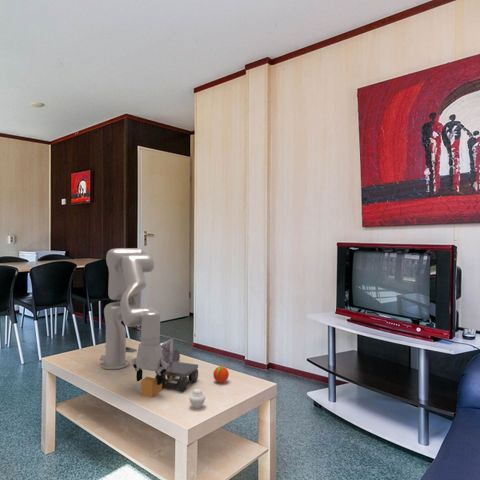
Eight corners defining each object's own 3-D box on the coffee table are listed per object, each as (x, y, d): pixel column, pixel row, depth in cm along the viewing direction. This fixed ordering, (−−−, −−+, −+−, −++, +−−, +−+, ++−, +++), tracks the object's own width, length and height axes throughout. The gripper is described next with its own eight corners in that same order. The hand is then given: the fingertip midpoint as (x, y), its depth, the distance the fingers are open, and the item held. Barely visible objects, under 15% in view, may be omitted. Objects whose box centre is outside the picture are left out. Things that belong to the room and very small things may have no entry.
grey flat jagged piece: (138, 351, 217) (138, 348, 217) (128, 354, 212) (128, 350, 212) (114, 345, 229) (114, 342, 229) (105, 348, 223) (105, 345, 223)
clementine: (224, 386, 167) (225, 370, 167) (210, 384, 169) (210, 368, 169) (230, 380, 175) (230, 364, 175) (216, 378, 177) (216, 363, 177)
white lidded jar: (200, 411, 143) (200, 392, 143) (186, 408, 145) (186, 390, 145) (207, 405, 149) (208, 387, 149) (193, 402, 151) (194, 384, 151)
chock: (141, 396, 157) (141, 380, 156) (151, 388, 164) (152, 373, 164) (151, 397, 155) (151, 381, 155) (162, 390, 162) (162, 375, 162)
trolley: (153, 388, 164) (153, 346, 164) (171, 375, 179) (172, 337, 179) (182, 393, 159) (183, 350, 159) (199, 380, 174) (199, 340, 174)
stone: (160, 348, 188) (181, 341, 200) (151, 347, 191) (173, 339, 203) (161, 370, 188) (182, 361, 200) (152, 368, 191) (174, 359, 203)
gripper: (127, 340, 158) (126, 382, 158) (164, 346, 152) (163, 388, 153) (137, 336, 165) (137, 375, 165) (173, 341, 159) (172, 382, 160)
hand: (149, 382), depth 159 cm, fingers open, 9 cm apart
